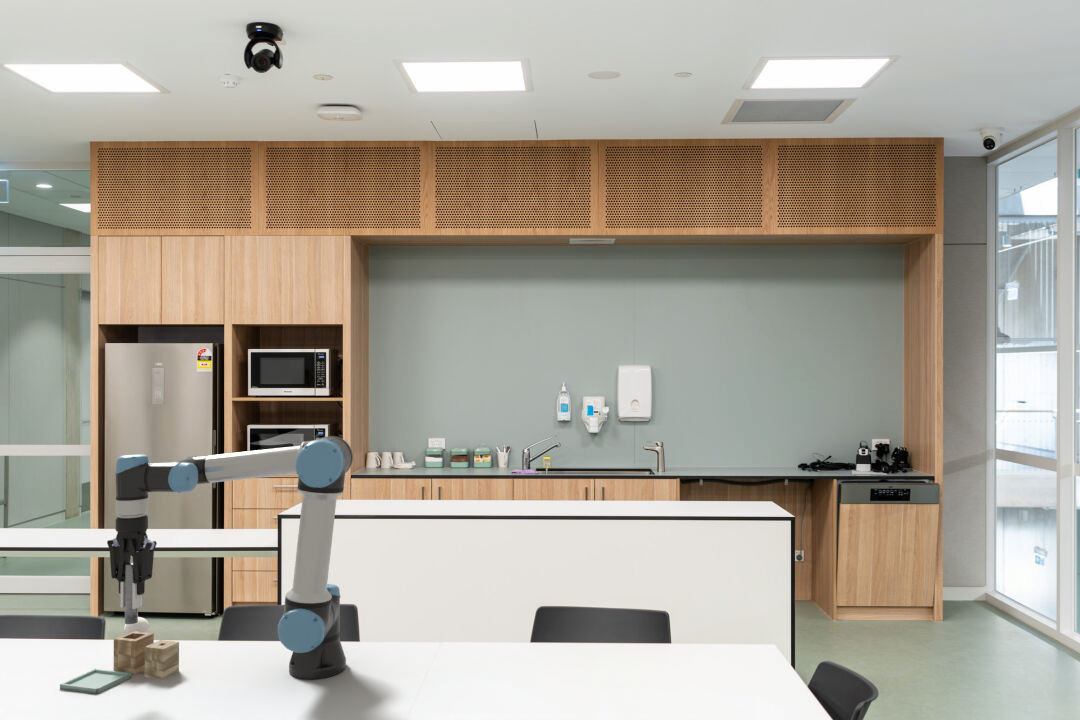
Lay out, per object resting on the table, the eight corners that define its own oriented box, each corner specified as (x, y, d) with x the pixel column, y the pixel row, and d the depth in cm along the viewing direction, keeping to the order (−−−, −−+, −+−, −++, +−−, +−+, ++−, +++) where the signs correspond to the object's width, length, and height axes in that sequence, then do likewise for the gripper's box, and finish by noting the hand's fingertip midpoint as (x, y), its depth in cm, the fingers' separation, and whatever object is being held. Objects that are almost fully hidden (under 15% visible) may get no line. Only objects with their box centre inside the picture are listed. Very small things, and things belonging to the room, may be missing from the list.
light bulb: (130, 661, 233) (130, 622, 233) (119, 656, 237) (119, 618, 237) (153, 655, 238) (153, 616, 239) (141, 650, 242) (142, 612, 243)
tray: (130, 677, 221) (130, 672, 221) (97, 693, 210) (97, 689, 210) (95, 673, 224) (95, 668, 224) (59, 689, 213) (59, 684, 213)
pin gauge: (140, 621, 213) (140, 562, 214) (131, 624, 210) (132, 565, 211) (130, 620, 214) (131, 562, 214) (122, 623, 211) (122, 564, 211)
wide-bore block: (153, 665, 230) (153, 633, 230) (135, 674, 223) (135, 641, 223) (132, 663, 232) (132, 631, 232) (113, 672, 225) (113, 639, 225)
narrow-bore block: (178, 671, 226) (179, 641, 226) (163, 679, 220) (163, 649, 220) (160, 669, 227) (160, 639, 227) (144, 676, 222) (144, 647, 222)
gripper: (168, 514, 214) (168, 604, 214) (116, 511, 218) (116, 600, 218) (147, 519, 207) (147, 613, 207) (94, 516, 211) (94, 608, 211)
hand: (131, 606), depth 212 cm, fingers closed on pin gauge, 3 cm apart
